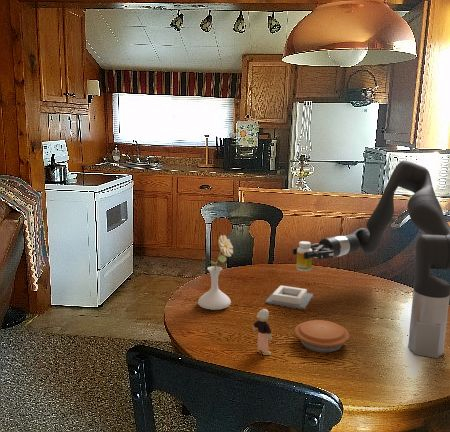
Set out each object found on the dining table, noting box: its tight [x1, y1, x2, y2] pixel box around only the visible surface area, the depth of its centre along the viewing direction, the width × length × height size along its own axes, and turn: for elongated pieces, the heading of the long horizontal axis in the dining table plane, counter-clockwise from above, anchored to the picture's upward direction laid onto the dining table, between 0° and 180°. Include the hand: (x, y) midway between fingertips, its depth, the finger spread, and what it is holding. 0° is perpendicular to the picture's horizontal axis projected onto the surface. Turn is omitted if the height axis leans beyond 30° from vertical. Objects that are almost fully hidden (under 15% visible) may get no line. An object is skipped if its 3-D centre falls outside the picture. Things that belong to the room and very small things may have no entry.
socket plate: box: [264, 284, 314, 311], centre depth 167 cm, size 14×14×3 cm
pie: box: [294, 319, 350, 353], centre depth 134 cm, size 16×16×5 cm
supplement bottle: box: [295, 240, 313, 272], centre depth 163 cm, size 5×5×10 cm
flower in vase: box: [197, 234, 234, 311], centre depth 158 cm, size 13×11×25 cm
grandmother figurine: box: [252, 308, 273, 356], centre depth 127 cm, size 8×4×13 cm, turn 47°
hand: (298, 253), depth 162 cm, fingers closed on supplement bottle, 5 cm apart
